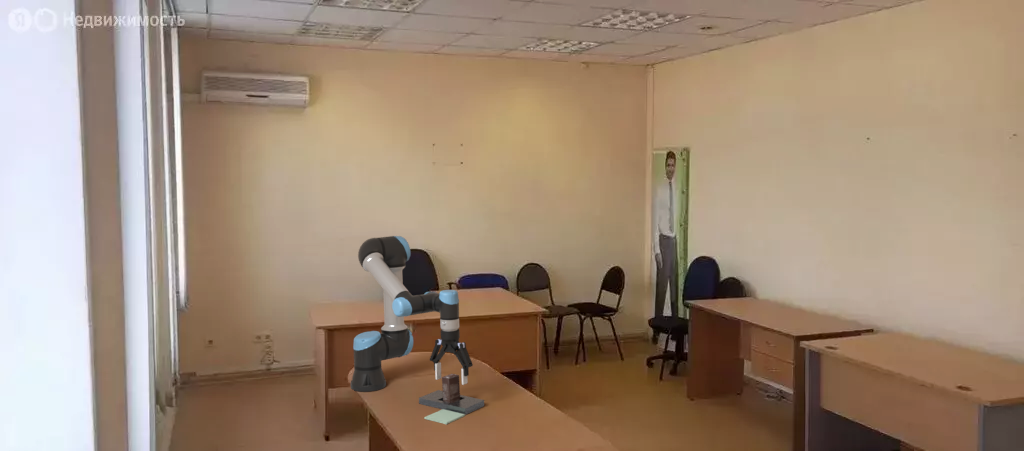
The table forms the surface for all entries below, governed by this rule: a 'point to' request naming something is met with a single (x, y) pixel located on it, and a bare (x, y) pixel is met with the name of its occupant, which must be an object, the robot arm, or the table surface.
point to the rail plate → (462, 406)
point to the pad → (444, 416)
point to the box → (451, 388)
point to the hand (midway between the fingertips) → (451, 381)
